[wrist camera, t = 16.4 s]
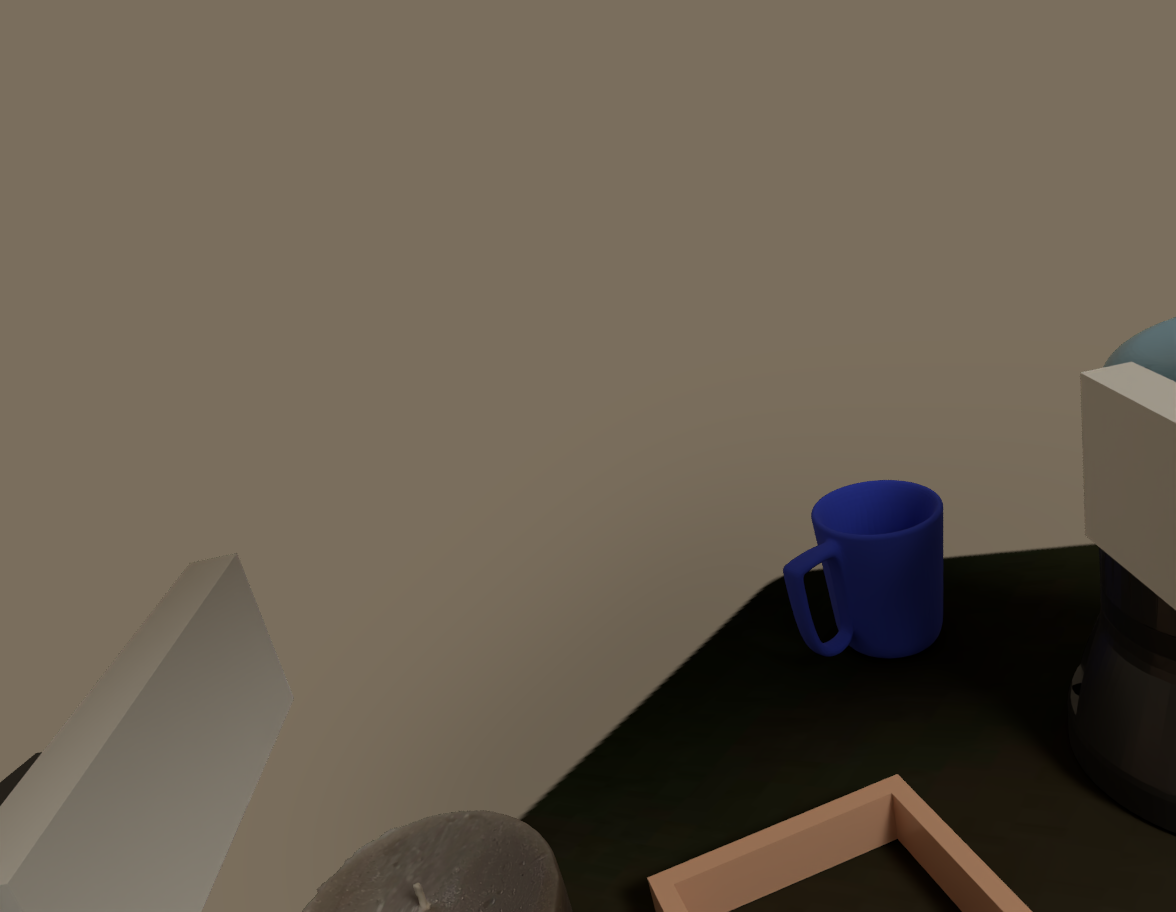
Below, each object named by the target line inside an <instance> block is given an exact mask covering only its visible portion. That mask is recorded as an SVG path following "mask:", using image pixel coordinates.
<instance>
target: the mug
mask: <svg viewBox="0 0 1176 912" xmlns="http://www.w3.org/2000/svg"><path fill="white" fill-rule="evenodd" d="M811 517H812V523H813V527H814V531H815V535H816V540H817V544H818V546H816V547H813V548H811V549H809V550H807V551H806V552H804V553H802V554H801V555H799V556H797V557H796V558H794V559H793V560H791V561H790V562H789V563H788V564H786V565H785V567H784V569H783V573H784V579H785V583H786V587H787V591H788V595H789V599H790V603H791V606H792V610H793V614H794V617H795V620H796V623H797V626H798V628H799V631H800V633H801V635H802V637H803V639H804V641H805V643H806V644H807V645H808V647H809V648H810V649H812V650H813V651H814V652H816V653H818V654H820V655H823V656H829V657H831V656H835V655H837V654H839V653H841V652H842V651H843V650H844V649H845V648H846V647H847V646H848V645H849V646H850V647H852V648H853V649H855V650H856V651H858V652H860V653H862V654H865V655H868V656H872V657H876V658H902V657H907V656H911V655H914V654H917V653H919V652H921V651H923V650H925V649H927V648H928V647H929V646H931V645H932V644H933V643H934V642H935V640H936V639H937V637H938V636H939V633H940V631H941V627H942V623H943V503H942V500H941V498H940V497H939V496H938V495H937V494H936V493H935V492H934V491H932V490H931V489H929V488H927V487H925V486H922V485H919V484H916V483H912V482H906V481H897V480H878V481H867V482H861V483H856V484H852V485H848V486H845V487H842V488H839V489H837V490H834V491H832V492H830V493H829V494H827V495H825V496H824V497H822V498H821V499H820V500H819V501H818V502H817V503H816V504H815V506H814V507H813V510H812V513H811ZM820 563H822V565H823V570H824V574H825V578H826V582H827V587H828V591H829V595H830V599H831V604H832V608H833V612H834V616H835V621H836V624H837V627H838V630H839V632H838V633H837V635H836V636H835V637H834V638H832V639H831V640H830V641H828V642H826V643H822V642H821V641H820V639H819V637H818V635H817V632H816V630H815V627H814V624H813V621H812V617H811V613H810V609H809V605H808V601H807V596H806V592H805V587H804V581H803V578H804V575H805V574H806V573H807V572H808V571H810V570H811V569H812V568H814V567H815V566H816V565H818V564H820Z"/></svg>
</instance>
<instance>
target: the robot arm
mask: <svg viewBox="0 0 1176 912" xmlns="http://www.w3.org/2000/svg"><path fill="white" fill-rule="evenodd" d="M1080 379H1081V410H1082V411H1081V412H1082V444H1083V475H1084V476H1083V478H1084V509H1085V535H1086V536H1087V537H1088V538H1089V539H1091V540H1092V541H1093V542H1094V543H1095V544H1096V545H1098V546H1099V555H1100V591H1101V610H1100V613H1099V615H1098V618H1097V620H1096V623H1095V625H1094V627H1093V630H1092V632H1091V635H1090V637H1089V640H1088V642H1087V645H1086V647H1085V650H1084V653H1083V656H1082V660H1081V664H1080V665H1079V667H1078V668H1077V670H1076V672H1075V674H1074V676H1073V679H1072V681H1071V684H1070V687H1069V692H1068V700H1067V708H1068V734H1069V741H1070V744H1071V748H1072V750H1073V753H1074V755H1075V757H1076V759H1077V761H1078V763H1079V764H1080V766H1081V767H1082V769H1083V770H1084V771H1085V773H1086V774H1087V775H1088V776H1089V778H1090V779H1091V780H1092V781H1093V782H1094V783H1095V784H1096V785H1097V786H1098V787H1099V788H1100V789H1101V790H1102V791H1104V792H1105V793H1106V794H1107V795H1108V796H1110V797H1111V798H1112V799H1113V800H1115V801H1116V802H1118V803H1119V804H1120V805H1122V806H1123V807H1125V808H1126V809H1128V810H1129V811H1131V812H1133V813H1135V814H1136V815H1138V816H1140V817H1141V818H1143V819H1145V820H1147V821H1149V822H1151V823H1153V824H1155V825H1157V826H1160V827H1162V828H1164V829H1166V830H1169V831H1171V832H1174V833H1176V317H1174V318H1172V319H1169V320H1167V321H1164V322H1161V323H1159V324H1156V325H1154V326H1152V327H1150V328H1148V329H1145V330H1144V331H1142V332H1140V333H1138V334H1136V335H1135V336H1133V337H1132V338H1130V339H1129V340H1127V341H1126V342H1124V343H1123V344H1122V345H1121V346H1119V348H1118V349H1116V350H1115V351H1114V352H1113V353H1112V355H1111V356H1110V357H1109V358H1108V360H1107V361H1106V363H1105V365H1104V367H1103V368H1100V369H1095V370H1090V371H1085V372H1081V373H1080ZM293 699H294V697H293V695H292V692H291V690H290V687H289V685H288V682H287V679H286V677H285V674H284V672H283V669H282V667H281V664H280V662H279V659H278V656H277V654H276V651H275V649H274V647H273V644H272V641H271V639H270V636H269V634H268V631H267V628H266V626H265V623H264V621H263V619H262V616H261V613H260V611H259V608H258V606H257V603H256V600H255V598H254V595H253V593H252V590H251V588H250V585H249V583H248V580H247V577H246V575H245V572H244V570H243V567H242V565H241V562H240V560H239V557H238V555H237V553H235V554H230V555H226V556H221V557H216V558H211V559H207V560H202V561H197V562H193V563H190V564H189V565H188V566H187V567H186V569H185V570H184V571H183V573H182V574H181V575H180V576H179V578H178V579H177V580H176V582H175V583H174V584H173V586H172V587H171V588H170V589H169V591H168V592H167V593H166V594H165V596H164V597H163V598H162V599H161V601H160V602H159V603H158V605H157V606H156V607H155V608H154V610H153V611H152V612H151V614H150V615H149V616H148V617H147V619H146V620H145V621H144V623H143V624H142V625H141V626H140V628H139V629H138V630H137V631H136V633H135V634H134V635H133V637H132V638H131V639H130V640H129V642H128V643H127V645H126V646H125V647H124V648H123V650H122V651H121V652H120V653H119V655H118V656H117V657H116V658H115V660H114V661H113V663H112V664H111V665H110V666H109V667H108V669H107V670H106V671H105V673H104V674H103V675H102V676H101V678H100V679H99V680H98V681H97V683H96V684H95V686H94V687H93V688H92V689H91V690H90V692H89V693H88V694H87V696H86V697H85V698H84V699H83V701H82V702H81V704H80V705H79V706H78V707H77V708H76V710H75V711H74V712H73V714H72V715H71V716H70V717H69V719H68V720H67V721H66V723H65V724H64V725H63V726H62V728H61V729H60V730H59V731H58V733H57V734H56V735H55V737H54V738H53V739H52V741H51V742H50V743H49V744H48V746H47V747H46V748H45V750H44V751H43V752H41V753H36V754H35V755H33V756H32V757H31V758H30V759H29V760H27V761H26V762H25V763H24V764H22V765H21V766H20V767H19V768H17V769H16V770H15V771H14V772H13V773H11V774H10V775H9V776H8V777H6V778H5V779H4V780H3V781H2V782H0V912H202V909H203V907H204V905H205V903H206V901H207V898H208V896H209V893H210V891H211V889H212V887H213V884H214V882H215V880H216V877H217V875H218V873H219V871H220V868H221V866H222V863H223V861H224V859H225V857H226V854H227V852H228V850H229V847H230V845H231V843H232V840H233V838H234V836H235V833H236V831H237V829H238V827H239V824H240V822H241V820H242V817H243V815H244V813H245V810H246V808H247V806H248V803H249V801H250V799H251V796H252V794H253V792H254V790H255V787H256V785H257V782H258V780H259V778H260V776H261V773H262V771H263V769H264V766H265V764H266V762H267V759H268V757H269V755H270V752H271V750H272V748H273V746H274V743H275V741H276V739H277V736H278V734H279V732H280V729H281V727H282V725H283V722H284V720H285V718H286V715H287V713H288V711H289V709H290V706H291V704H292V702H293Z"/></svg>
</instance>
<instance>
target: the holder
mask: <svg viewBox="0 0 1176 912" xmlns="http://www.w3.org/2000/svg"><path fill="white" fill-rule="evenodd" d="M896 839H898V840H899V841H900V842H901V843H902V844H903V845H904V847H905V848H906V849H907V850H908V851H909V852H910V853H911V854H912V856H913V857H914V858H915V859H916V860H917V861H918V862H919V864H920V865H921V866H922V867H923V868H924V869H925V870H926V871H927V873H928V874H929V875H930V876H931V877H932V878H933V879H934V880H935V882H936V883H937V884H938V885H939V886H940V887H941V888H942V889H943V891H944V892H945V893H946V894H947V895H948V896H949V897H950V898H951V900H952V901H953V902H954V903H955V904H956V905H957V906H958V908H959V909H960V910H961V911H962V912H1032V911H1031V910H1030V909H1029V908H1028V907H1027V906H1026V905H1025V904H1024V903H1023V902H1022V901H1021V900H1020V899H1019V898H1018V897H1017V896H1016V895H1015V894H1014V893H1013V892H1012V891H1011V890H1010V889H1009V887H1008V886H1007V885H1006V884H1005V883H1004V882H1003V881H1002V880H1001V879H1000V878H999V877H998V876H997V875H996V874H995V873H994V872H993V871H992V870H991V869H990V868H989V867H988V866H987V865H986V864H985V863H984V862H983V861H982V860H981V859H980V858H979V857H978V856H977V855H976V854H975V853H974V852H973V851H972V850H971V849H970V848H969V847H968V846H967V845H966V844H965V843H964V842H963V841H962V839H961V838H960V837H959V836H958V835H957V834H956V833H955V832H954V831H953V830H952V829H951V828H950V827H949V826H948V825H947V824H946V823H945V822H944V821H943V820H942V819H941V818H940V817H939V816H938V815H937V814H936V813H935V812H934V811H933V810H932V809H931V808H930V807H929V806H928V805H927V804H926V803H925V802H924V801H923V800H922V799H921V798H920V797H919V796H918V795H917V794H916V793H915V791H914V790H913V789H912V788H911V787H910V786H909V785H908V784H907V783H906V782H905V781H904V780H903V779H902V778H901V777H900V776H899V775H898V774H896V775H894V776H892V777H889V778H887V779H884V780H882V781H880V782H877V783H875V784H872V785H870V786H867V787H865V788H863V789H860V790H858V791H855V792H853V793H851V794H848V795H846V796H843V797H841V798H839V799H836V800H834V801H831V802H829V803H827V804H824V805H822V806H819V807H817V808H814V809H812V810H810V811H807V812H805V813H802V814H800V815H798V816H795V817H793V818H790V819H788V820H786V821H783V822H781V823H778V824H776V825H773V826H771V827H769V828H766V829H764V830H761V831H759V832H757V833H754V834H752V835H749V836H747V837H745V838H742V839H740V840H737V841H735V842H732V843H730V844H728V845H725V846H723V847H720V848H718V849H716V850H713V851H711V852H708V853H706V854H704V855H701V856H699V857H696V858H694V859H691V860H689V861H687V862H684V863H682V864H679V865H677V866H675V867H672V868H670V869H667V870H665V871H663V872H660V873H658V874H655V875H653V876H650V877H648V878H647V879H648V883H649V887H650V891H651V895H652V899H653V903H654V907H655V911H656V912H728V911H731V910H733V909H735V908H738V907H740V906H742V905H745V904H747V903H749V902H752V901H754V900H756V899H759V898H761V897H763V896H766V895H768V894H770V893H773V892H775V891H777V890H779V889H782V888H784V887H786V886H789V885H791V884H793V883H796V882H798V881H800V880H803V879H805V878H807V877H810V876H812V875H814V874H817V873H819V872H821V871H824V870H826V869H828V868H831V867H833V866H835V865H838V864H840V863H842V862H845V861H847V860H849V859H852V858H854V857H856V856H859V855H861V854H863V853H865V852H868V851H870V850H872V849H875V848H877V847H879V846H882V845H884V844H886V843H889V842H891V841H893V840H896Z"/></svg>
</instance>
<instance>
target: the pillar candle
mask: <svg viewBox="0 0 1176 912" xmlns="http://www.w3.org/2000/svg"><path fill="white" fill-rule="evenodd" d="M317 890H318V893H317V895H316V896H315V897H314V898H313V899H312V900H311V901H310V902H309V903H308V904H307V905H306V907H305V908H304V909H303V911H302V912H573V911H572V908H571V905H570V901H569V898H568V895H567V892H566V888H565V885H564V881H563V879H562V876H561V873H560V870H559V866H558V864H557V861H556V858H555V856H554V853H553V851H552V850H551V848H550V846H549V844H548V843H547V842H546V841H545V839H544V838H543V837H542V836H541V835H540V834H539V833H538V832H537V831H536V830H534V829H533V828H532V827H530V826H529V825H528V824H527V823H524V822H523V821H521V820H518V819H516V818H513V817H510V816H507V815H504V814H499V813H495V812H490V811H459V812H451V813H447V814H439V815H436V816H431V817H427V818H424V819H421V820H419V821H417V822H413V823H410V824H408V825H405V826H402V827H400V828H394V829H390V830H389V831H387V832H385V833H384V834H383V835H381V836H380V837H379V838H378V839H377V840H373V841H371V842H369V843H367V844H366V845H364V846H363V847H362V848H360V849H359V850H357V851H356V852H355V853H354V855H353V856H352V857H351V858H349V859H347V860H346V861H345V863H344V865H343V866H342V867H341V868H340V869H339V870H338V871H337V873H336V874H334V875H333V876H332V877H331V878H329V879H328V880H327V881H326V882H325V883H323V884H322V885H321V887H319V888H318V889H317Z"/></svg>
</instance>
